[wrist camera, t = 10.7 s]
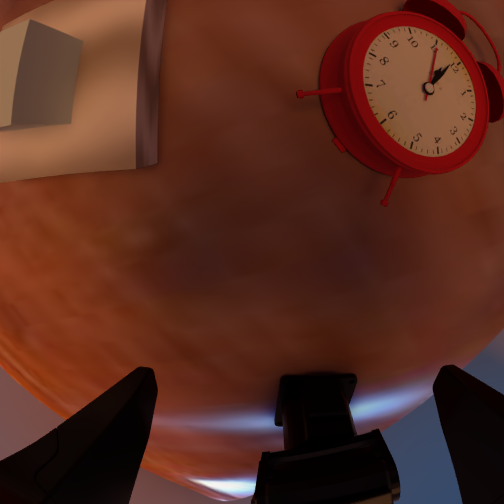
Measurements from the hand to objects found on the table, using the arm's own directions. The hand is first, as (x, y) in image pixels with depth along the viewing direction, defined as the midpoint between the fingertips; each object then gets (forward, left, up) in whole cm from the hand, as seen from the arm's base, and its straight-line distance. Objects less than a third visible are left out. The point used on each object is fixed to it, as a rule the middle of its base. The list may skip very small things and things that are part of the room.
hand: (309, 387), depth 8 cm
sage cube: (+11, +14, -8) cm, 20 cm away
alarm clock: (+12, -8, -12) cm, 19 cm away
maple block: (+11, +14, -12) cm, 22 cm away
